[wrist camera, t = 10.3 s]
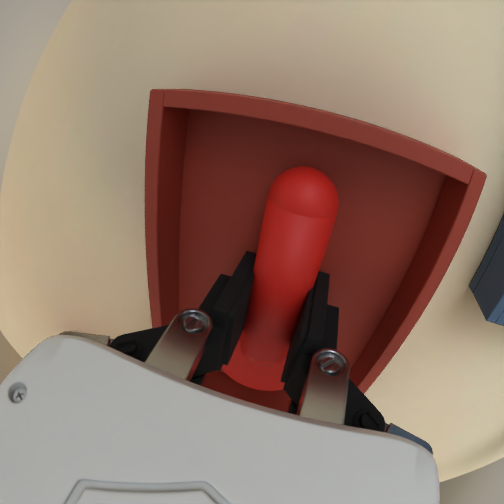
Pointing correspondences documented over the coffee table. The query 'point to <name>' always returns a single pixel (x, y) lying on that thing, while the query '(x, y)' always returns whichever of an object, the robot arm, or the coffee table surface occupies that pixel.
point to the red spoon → (283, 273)
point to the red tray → (344, 230)
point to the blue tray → (491, 280)
